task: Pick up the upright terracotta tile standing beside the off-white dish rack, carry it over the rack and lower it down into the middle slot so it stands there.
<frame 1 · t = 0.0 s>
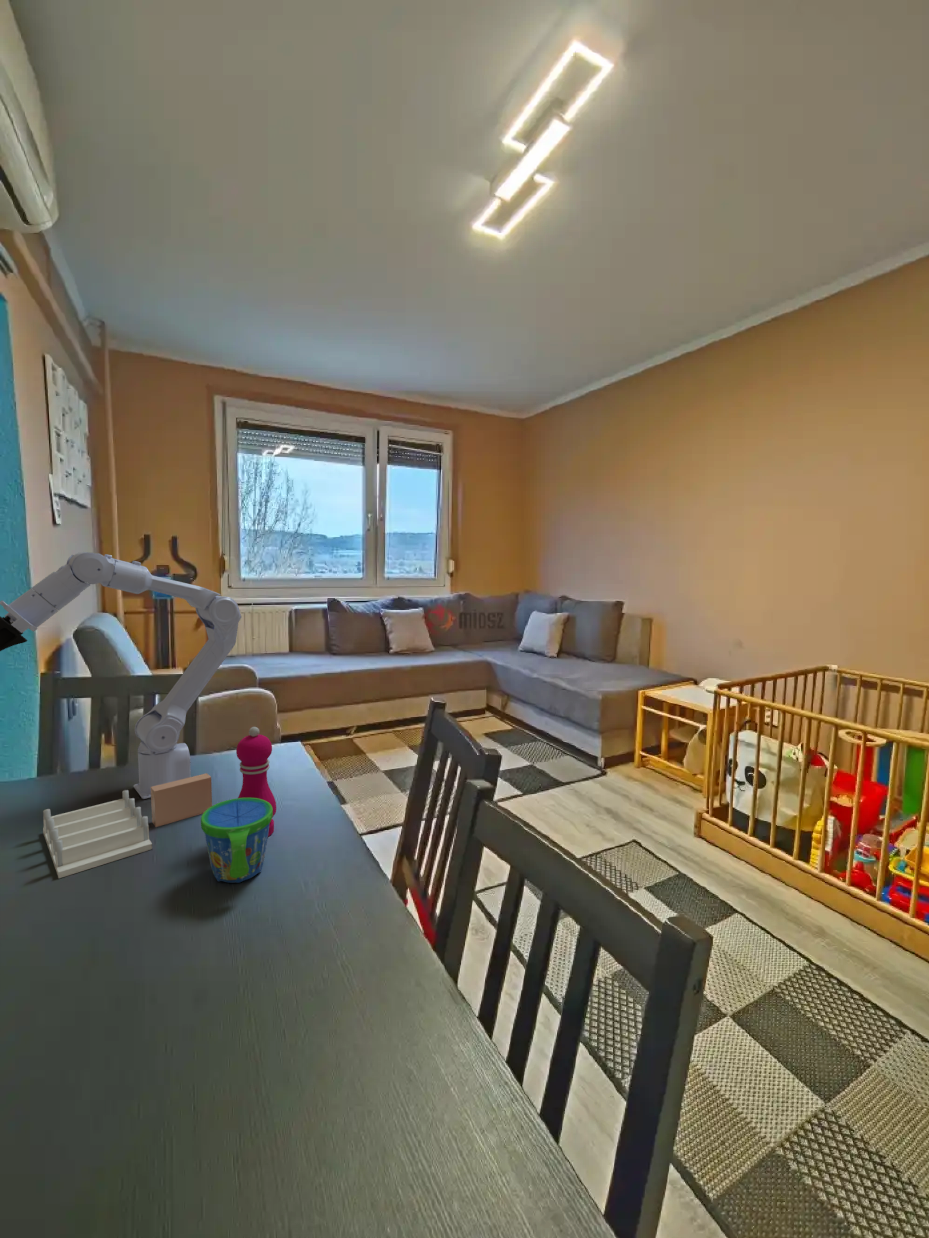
dish rack: (96, 840, 95), on the table
pepper mill: (255, 833, 100), on the table
tile: (182, 816, 105), on the table
snack cup: (238, 872, 88), on the table
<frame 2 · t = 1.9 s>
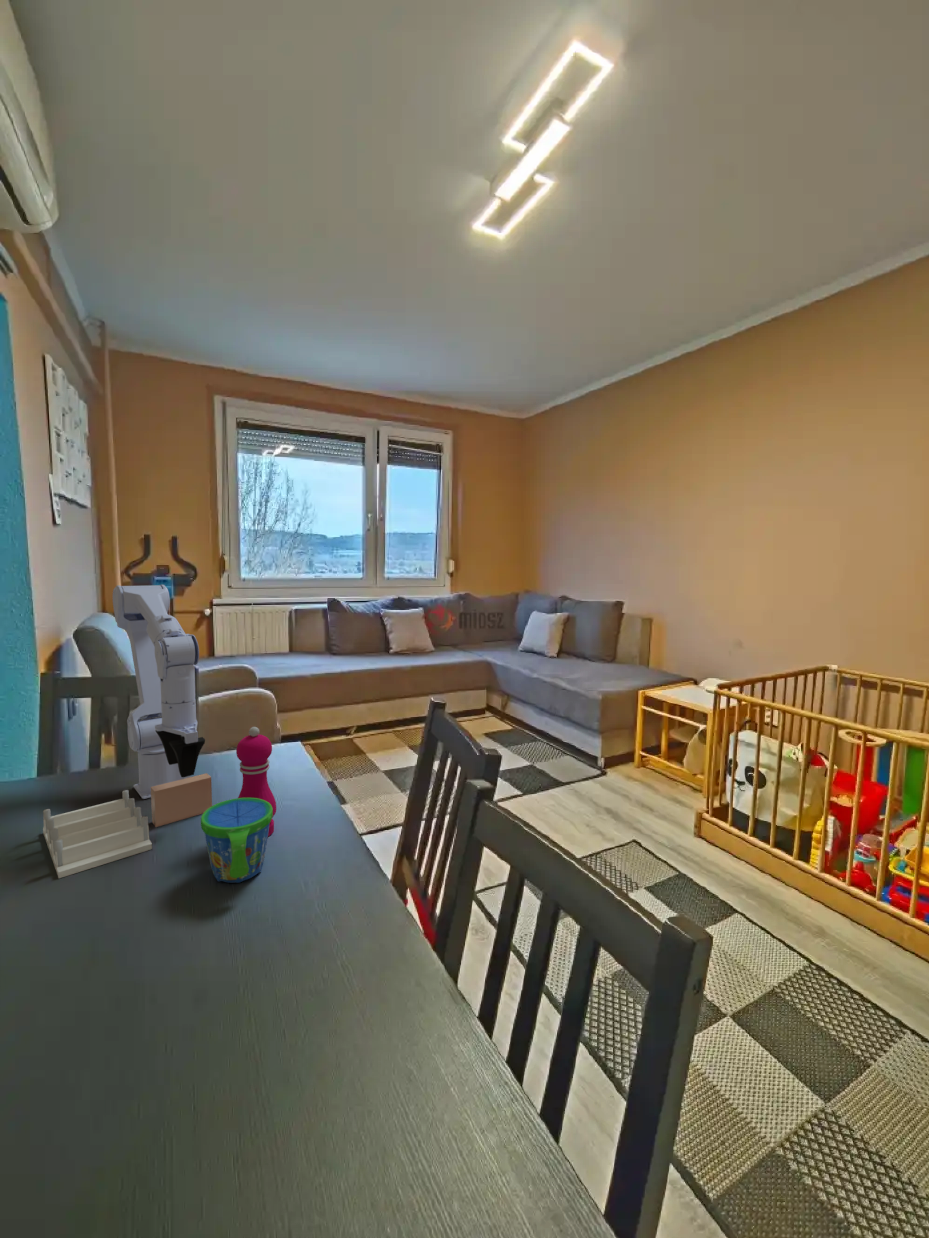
hand: (181, 769, 104), 9 cm above the table, tool pointing down, fingers open, 7 cm apart
nothing on the table moved.
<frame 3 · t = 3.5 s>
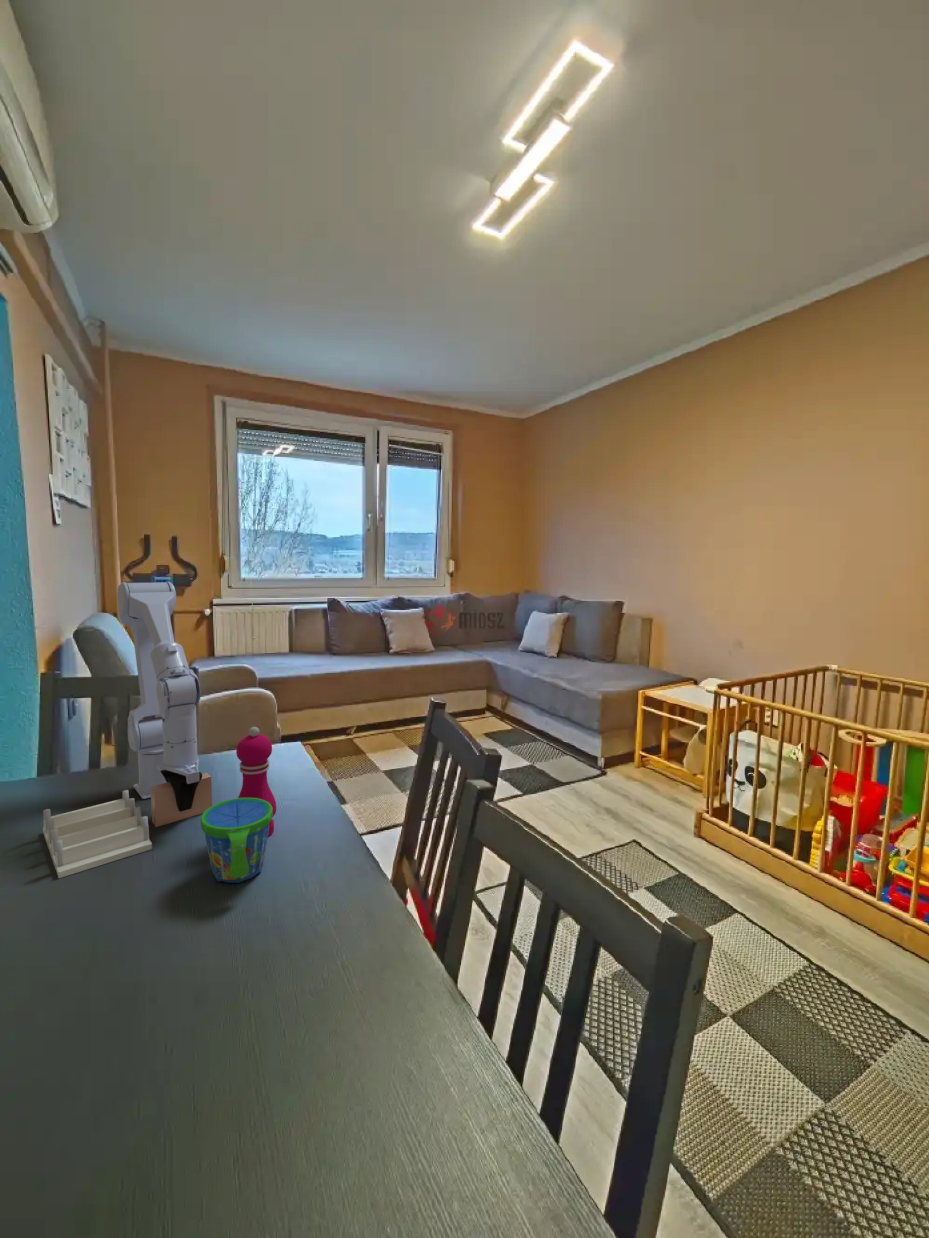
hand: (182, 806, 105), 2 cm above the table, tool pointing down, fingers closed on tile, 2 cm apart
tile: (182, 816, 105), on the table, touching gripper
everything else where it was.
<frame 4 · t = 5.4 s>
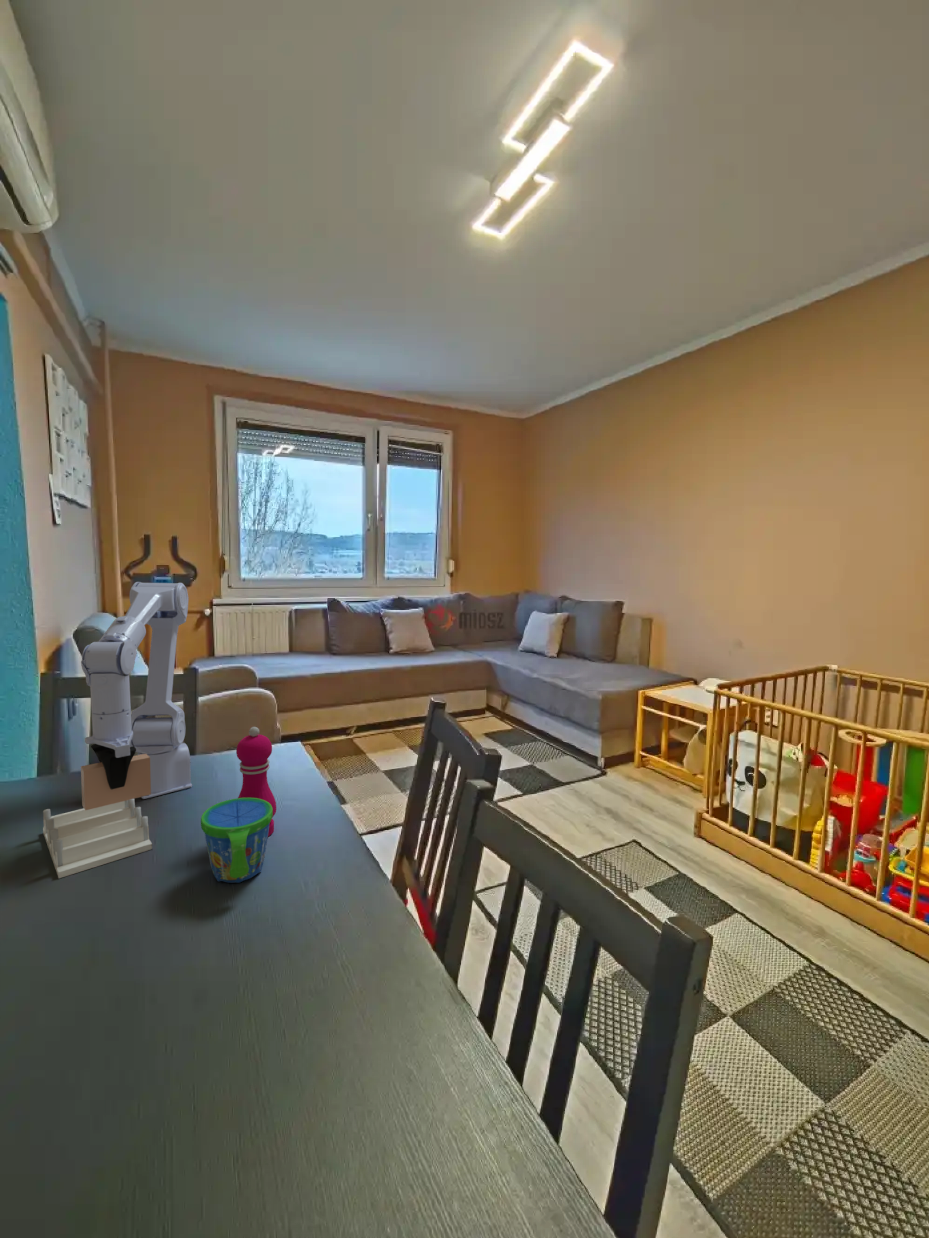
hand: (115, 784, 96), 9 cm above the table, tool pointing down, fingers closed on tile, 2 cm apart
tile: (117, 799, 97), point 7 cm above the table, touching gripper
everything else where it was.
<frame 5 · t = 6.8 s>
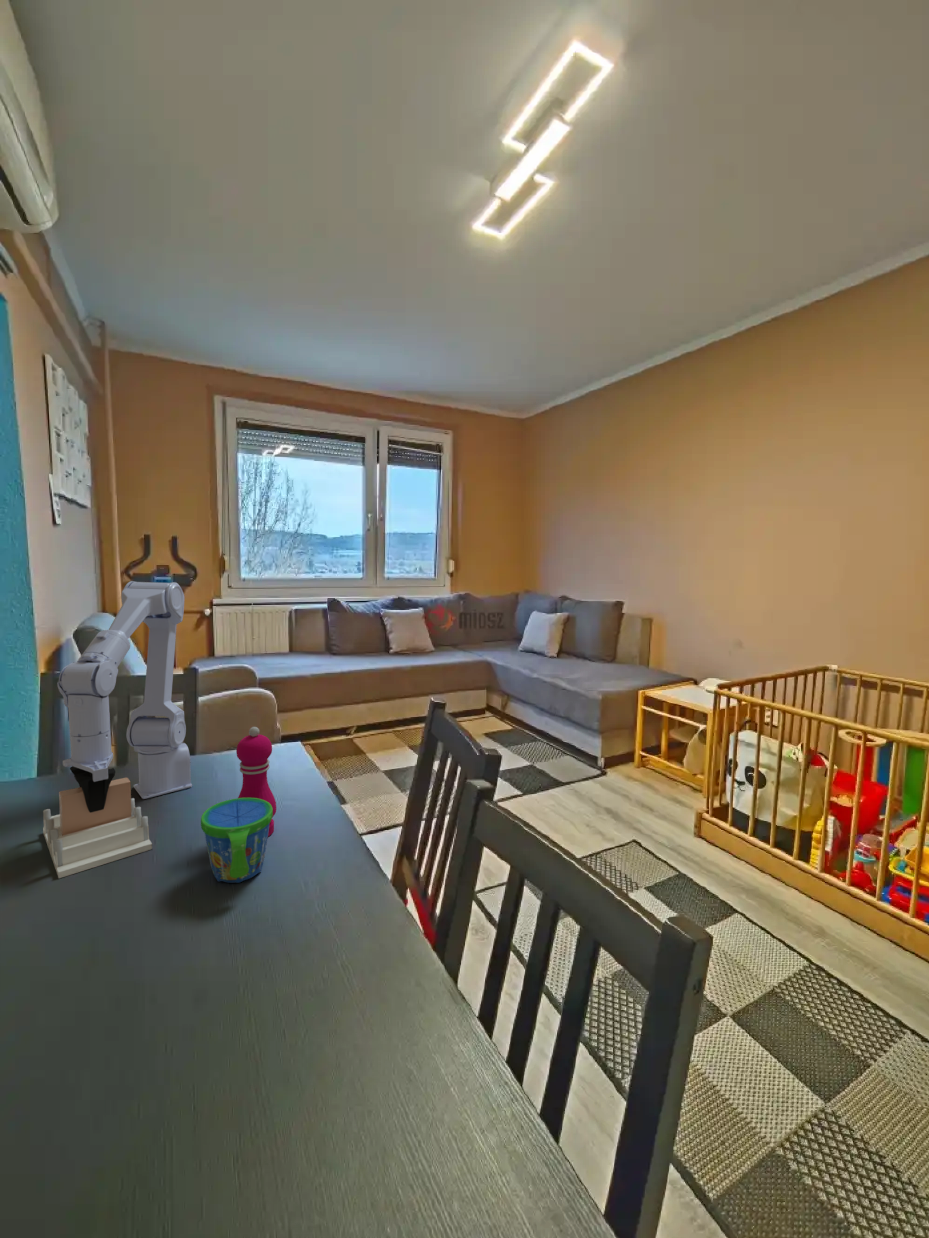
hand: (94, 807, 95), 6 cm above the table, tool pointing down, fingers closed on tile, 2 cm apart
tile: (96, 825, 95), point 3 cm above the table, touching gripper
everything else where it was.
when the fingers open (4 cm above the table, at t = 7.5 s): tile stays where it is, resting on dish rack.
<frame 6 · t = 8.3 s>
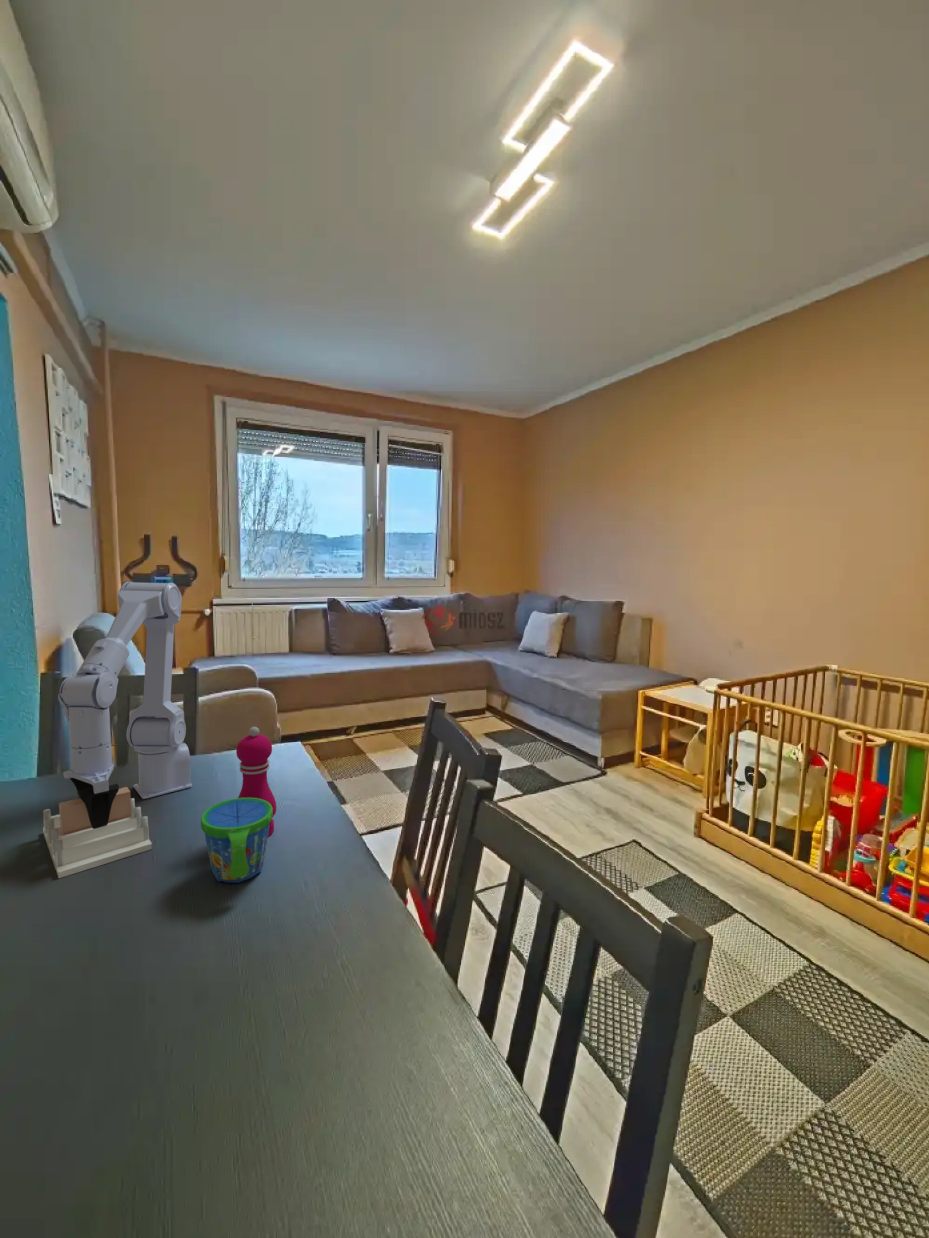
hand: (95, 818, 95), 4 cm above the table, tool pointing down, fingers open, 7 cm apart
tile: (97, 835, 95), point 1 cm above the table, touching dish rack
everything else where it was.
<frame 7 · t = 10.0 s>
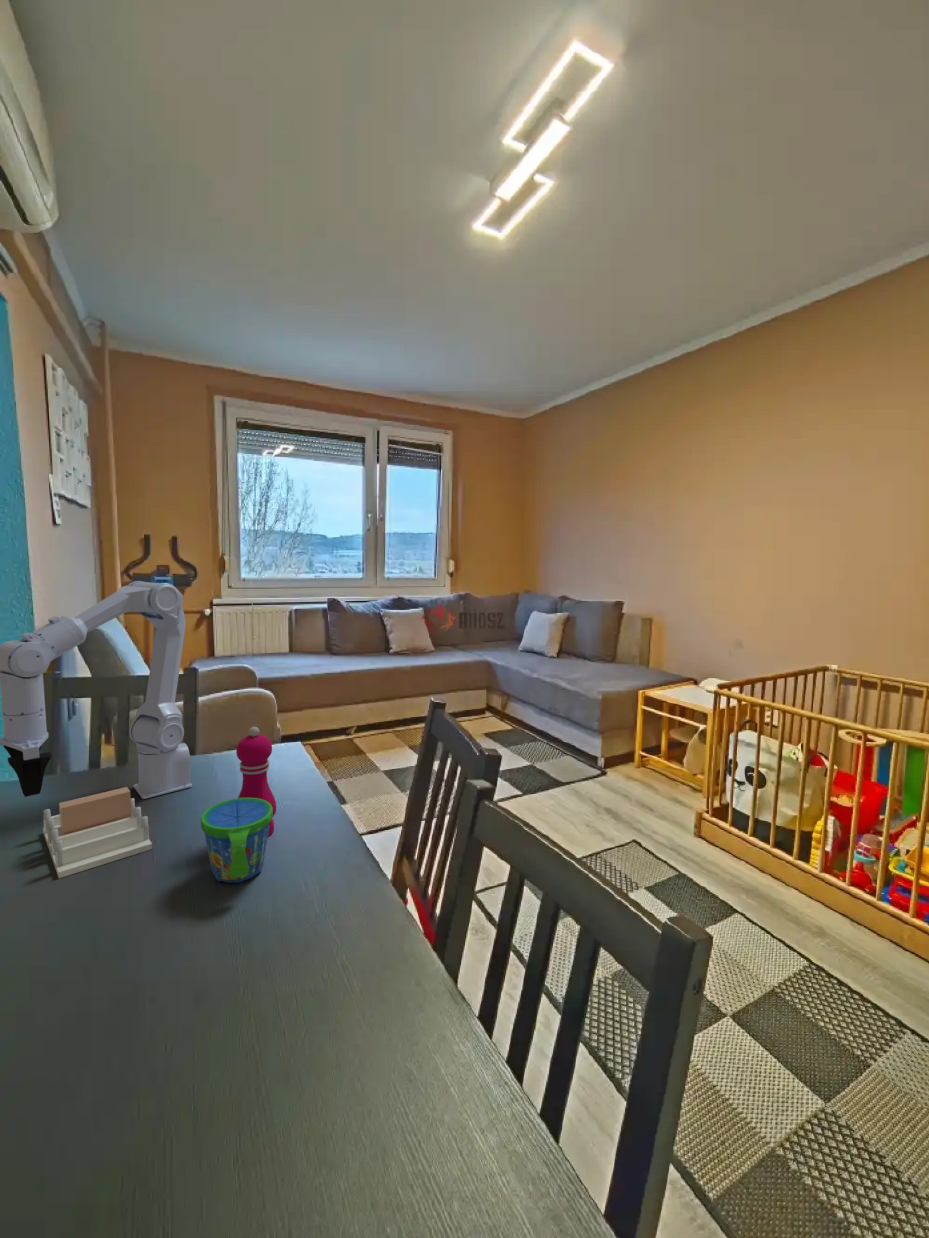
hand: (29, 787, 95), 9 cm above the table, tool pointing down, fingers open, 7 cm apart
nothing on the table moved.
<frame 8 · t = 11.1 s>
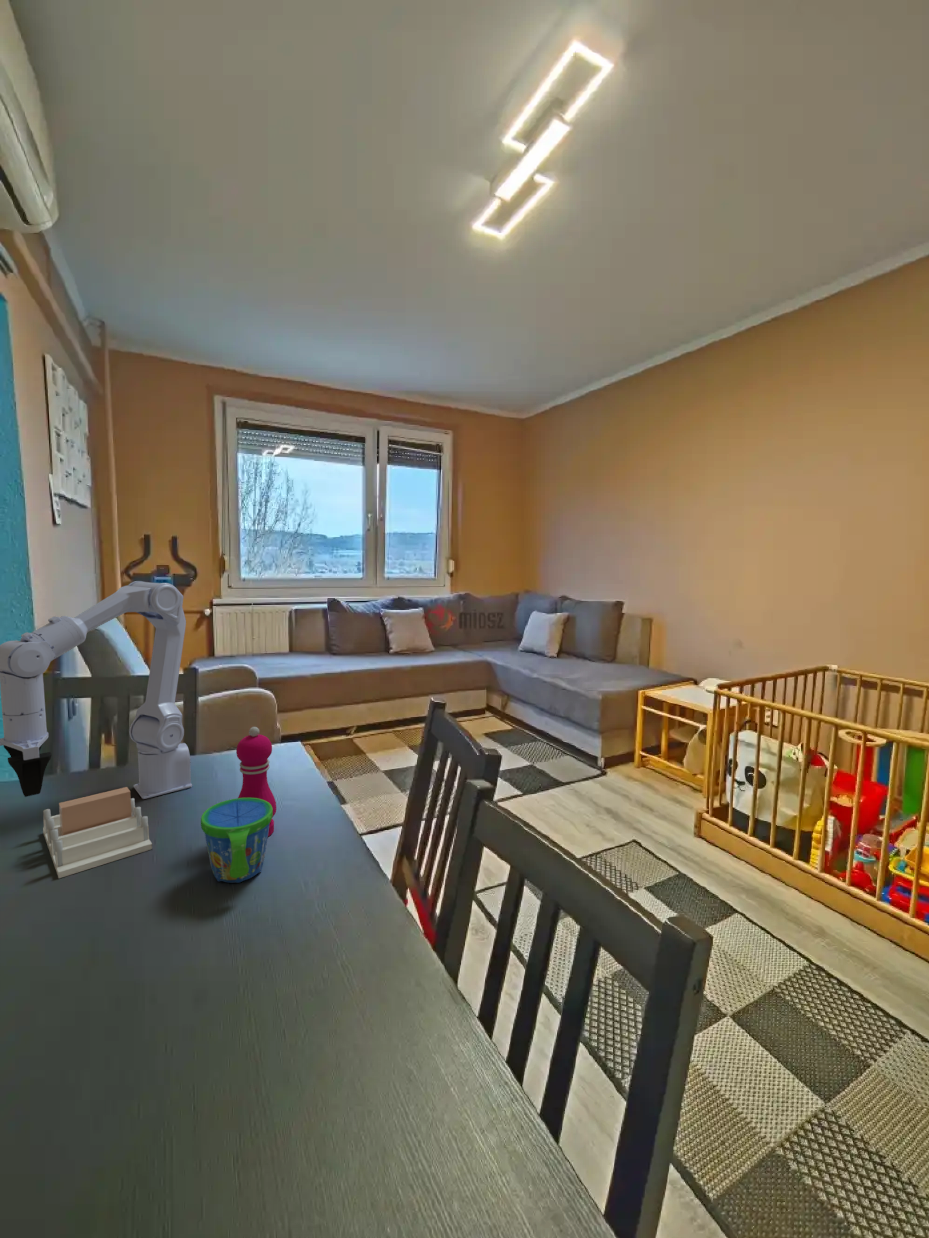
hand: (29, 787, 95), 9 cm above the table, tool pointing down, fingers open, 7 cm apart
nothing on the table moved.
at the end: tile 0.2 cm off-centre on the dish rack, point 1.0 cm above the dish rack's base; tile tilted 0°; the gripper is holding nothing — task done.
